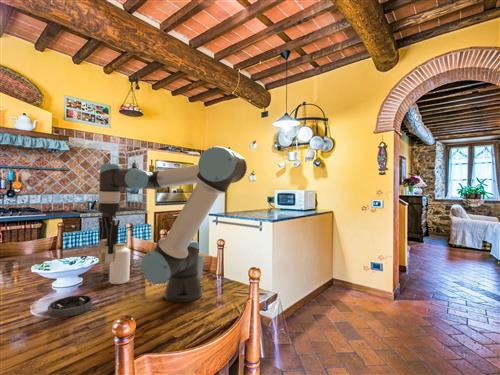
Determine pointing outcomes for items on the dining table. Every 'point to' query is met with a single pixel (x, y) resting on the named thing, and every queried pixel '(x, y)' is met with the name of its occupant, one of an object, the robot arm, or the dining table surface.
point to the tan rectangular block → (102, 251)
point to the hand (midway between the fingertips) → (106, 260)
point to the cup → (200, 266)
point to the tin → (70, 306)
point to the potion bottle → (120, 265)
